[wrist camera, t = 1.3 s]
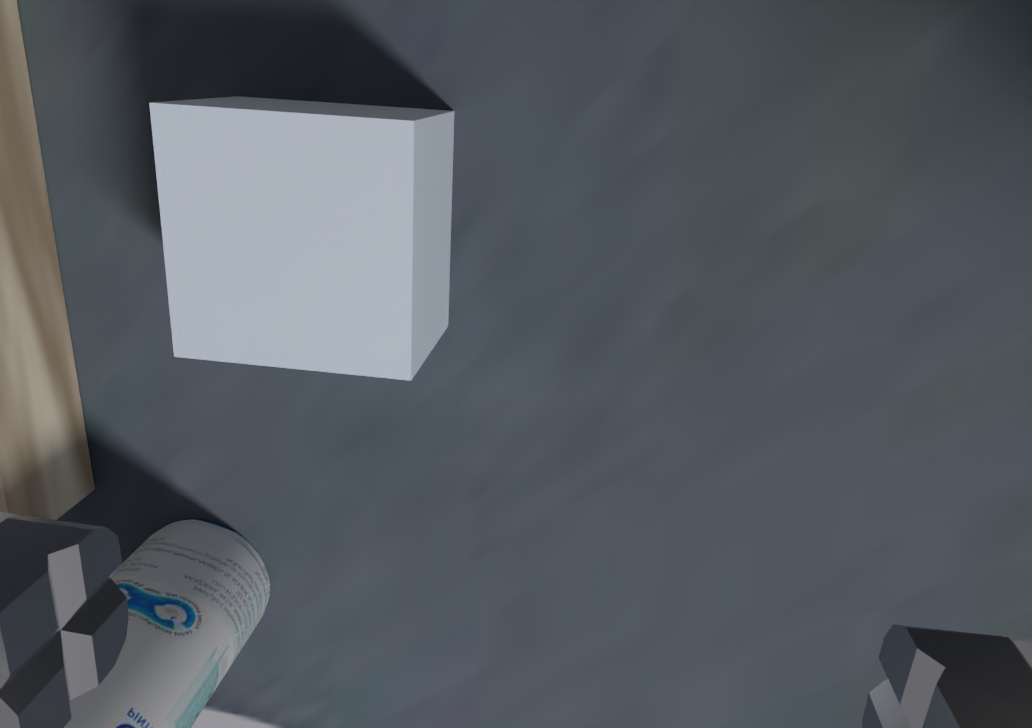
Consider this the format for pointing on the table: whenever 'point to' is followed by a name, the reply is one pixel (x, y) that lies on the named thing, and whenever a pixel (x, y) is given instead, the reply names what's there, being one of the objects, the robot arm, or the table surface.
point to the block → (305, 232)
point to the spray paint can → (178, 626)
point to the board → (33, 316)
